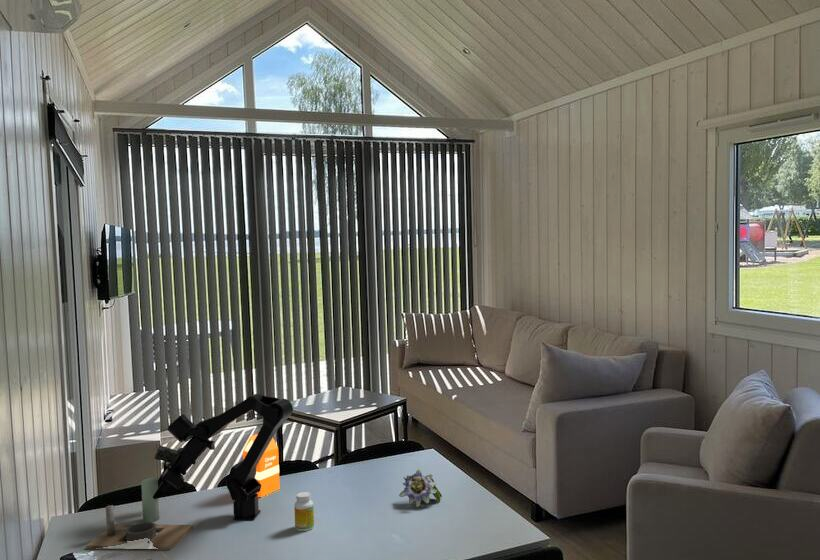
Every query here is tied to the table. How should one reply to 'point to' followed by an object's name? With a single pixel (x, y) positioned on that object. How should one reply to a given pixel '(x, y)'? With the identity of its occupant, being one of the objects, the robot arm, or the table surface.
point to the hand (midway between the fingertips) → (154, 493)
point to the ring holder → (139, 533)
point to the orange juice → (266, 467)
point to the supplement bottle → (304, 512)
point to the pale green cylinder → (150, 500)
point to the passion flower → (420, 488)
